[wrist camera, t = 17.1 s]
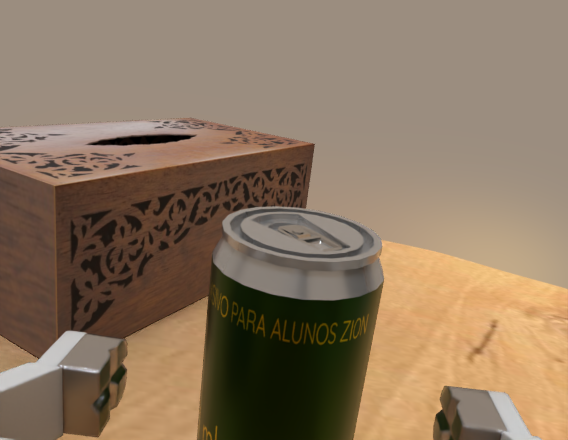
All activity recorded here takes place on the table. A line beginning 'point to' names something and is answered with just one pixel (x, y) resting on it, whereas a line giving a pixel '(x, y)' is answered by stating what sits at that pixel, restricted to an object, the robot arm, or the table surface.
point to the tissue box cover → (125, 218)
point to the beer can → (288, 325)
